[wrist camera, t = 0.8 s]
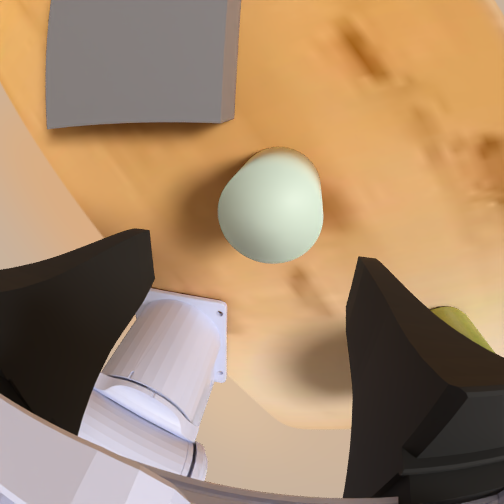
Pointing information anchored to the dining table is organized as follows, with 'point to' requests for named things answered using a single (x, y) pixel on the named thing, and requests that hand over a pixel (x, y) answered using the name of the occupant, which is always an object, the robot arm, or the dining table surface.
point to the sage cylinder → (272, 206)
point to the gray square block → (141, 61)
